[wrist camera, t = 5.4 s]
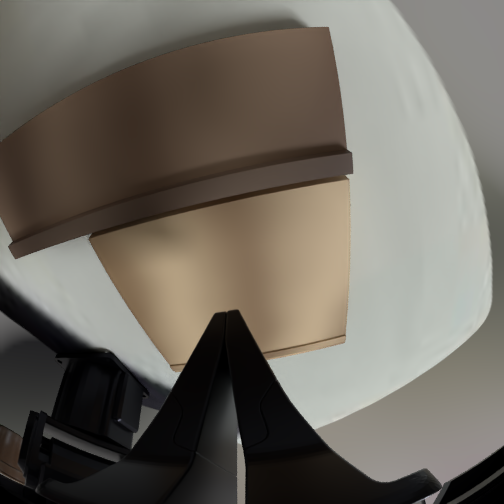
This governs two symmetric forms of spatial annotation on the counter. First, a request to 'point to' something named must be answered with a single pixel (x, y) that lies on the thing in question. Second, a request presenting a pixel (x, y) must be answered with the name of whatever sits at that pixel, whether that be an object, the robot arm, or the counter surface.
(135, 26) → the counter surface
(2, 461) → the plant pot
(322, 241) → the tan square board
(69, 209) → the walnut board
